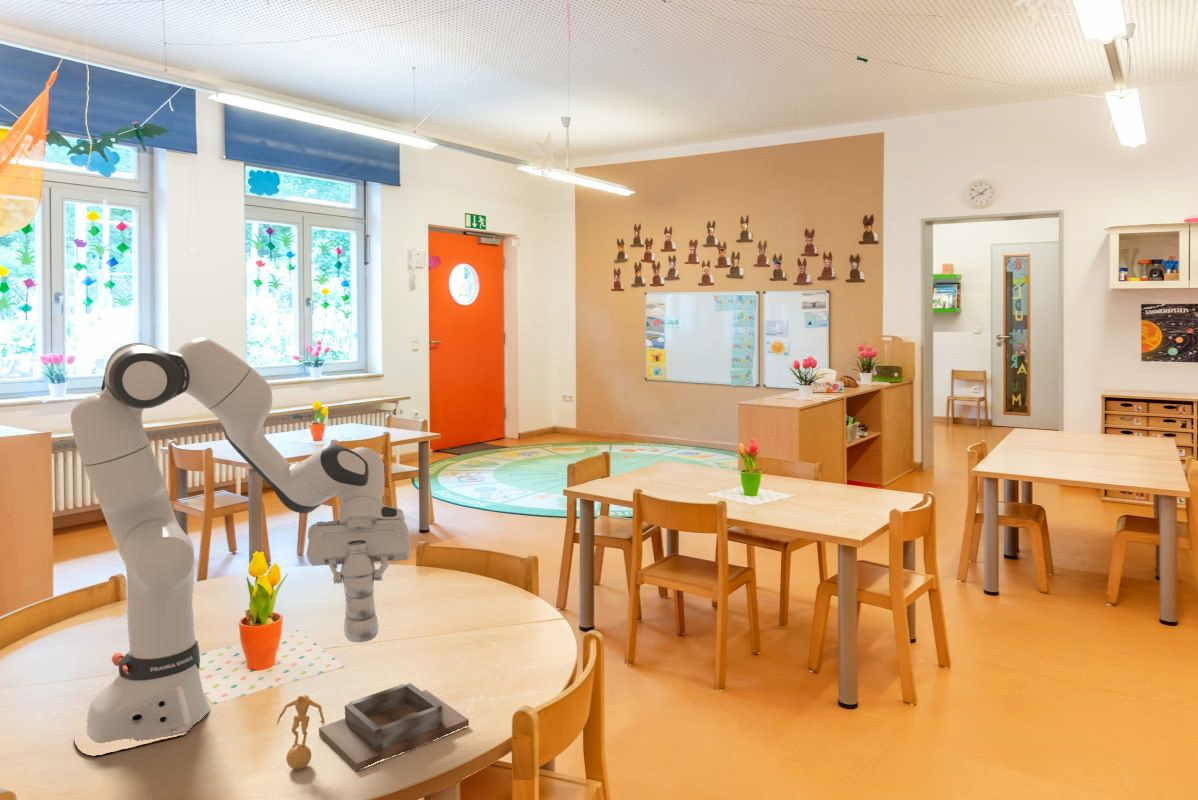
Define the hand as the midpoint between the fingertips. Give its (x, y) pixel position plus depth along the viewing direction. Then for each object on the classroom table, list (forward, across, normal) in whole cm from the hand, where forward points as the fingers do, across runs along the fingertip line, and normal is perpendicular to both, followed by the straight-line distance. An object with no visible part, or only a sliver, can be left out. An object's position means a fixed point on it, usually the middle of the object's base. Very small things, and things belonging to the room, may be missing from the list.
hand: (358, 580), depth 164 cm
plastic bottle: (+8, 0, +9) cm, 13 cm away
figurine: (+34, -8, +1) cm, 35 cm away
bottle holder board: (+28, +7, +7) cm, 29 cm away
